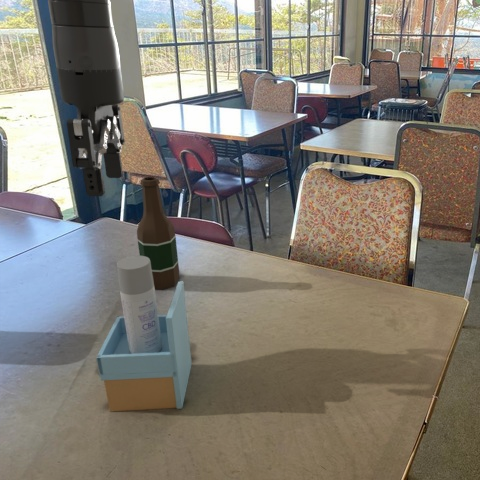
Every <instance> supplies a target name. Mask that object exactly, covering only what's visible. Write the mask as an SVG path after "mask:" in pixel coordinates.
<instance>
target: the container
mask: <svg viewBox="0 0 480 480" xmlns="http://www.w3.org/2000/svg"><path fill="white" fill-rule="evenodd" d="M116 270H117V279H118V288H119V294H120V301H121V306H122V312H123V316H124V320H125V326H126V332H127V338H128V344H129V350H130V354H137V353H159V352H161V350H162V342H161V334H160V326H159V318H158V315H159V311H158V310H159V309H158V304H157V296H156V289H155V288H154V281H153V275H152V269H151V263H150V259H149V258H148V257H146V256H140V255H129V256H125V257H123V258H121V259H119V260H118V261H117V262H116Z"/></svg>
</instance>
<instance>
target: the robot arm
mask: <svg viewBox="0 0 480 480" xmlns="http://www.w3.org/2000/svg"><path fill="white" fill-rule="evenodd" d="M47 4H48V11H49V16H50V17H49V18H50V22H51V32H52V33H51V34H52V49H53V55H54V61H55V66H56V73H57V78H58V84H59V90H60V97H61V101H62V102H63V103H64V104H66V105H68V106H75V107H76V109H77V110H76V112H77V117H76V118H67V119H66V128H67V135H68V142H69V148H70V149H69V150H70V157H71V163H72V167H73V168H77V169H78V168H79V169H80V170H82V176H83V182H84V187H85V193H86V195H87V196H88V197H102V196H104V195H105V193H106V188H105V180H104V175H103V168H102V162H103V161H104V168H105V175H106V177H107V178H108V179H120V178H122V177H123V176H124V171H123V165H122V157H121V156H122V155H121V153H122V150H123V146H125V143H126V140H125V134H124V126H123V119H122V113H121V112H122V111H121V106H120V104H122V103H123V102H124V100H125V94H124V86H123V78H122V77H123V76H122V68H121V60H120V52H119V51H120V50H119V45H118V41H117V37H116V34H115V33H116V32H115V28H114V18H113V11H112V3H111V0H47ZM102 160H103V161H102Z"/></svg>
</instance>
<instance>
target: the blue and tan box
mask: <svg viewBox="0 0 480 480" xmlns="http://www.w3.org/2000/svg"><path fill="white" fill-rule="evenodd" d="M186 302H187V301H186V293H185V283H184V281H183V280H181V281H180V280H178V282H177V283H176V287H175V291H174V293H173V296H172V299H171V302H170V305H169V308H168V311H167V314H158V318H159V326H160V334H161V342H162V350H161V352H159V353H137V354H130V350H129V344H128V338H127V332H126V326H125V320H124V315H121V316H120V315H119V316H117V317H116V318H115V320H114V322H113V324H112V326H111V328H110V330H109V332H108V333H107V336H106V338H105V340H104V342H103V343H102V345H101V347H100V350H99V352H98V354H97V356H96V358H95V359H96V363H97V369H98V373H99V378H100V381H103V383H104V388H105V393H106V398H107V403H108V408H109V412H128V411H144V410H160V409H161V410H162V409H176V410H182V409H183V407H184V402H185V397H186V393H187V389H188V383H189V380H190V374H191V370H192V363H193V362H192V353H191V343H190V342H191V341H190V335H189V323H188V314H187V303H186Z"/></svg>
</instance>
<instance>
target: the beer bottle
mask: <svg viewBox="0 0 480 480" xmlns="http://www.w3.org/2000/svg"><path fill="white" fill-rule="evenodd" d="M160 182H161V181H160V179H159V178H157V177H155V176H146V177H143V178H142V179H140V183H139V184H140V185H141V189H142V190H141V191H142V206H143V207H142V208H143V212H142V217H141V219H140V221H139V223H138V226H137V230H136V239H137V246H138V254H139V256H146V257H148V258H149V259H150V263H151V269H152V275H153V281H154V288H155V290H157V291H158V290H160V291H163V290H167V289H170V288H173V287H175V286H176V285H177V284H178V281H180V266H179V257H178V246H177V236H176V231H175V227H174V225H173V223H172V221H171V220H170V218H169V217H168V216H167V215H166V213H165V210H164V207H163V203H162V196H161V191H160V185H159V184H161V183H160Z"/></svg>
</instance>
